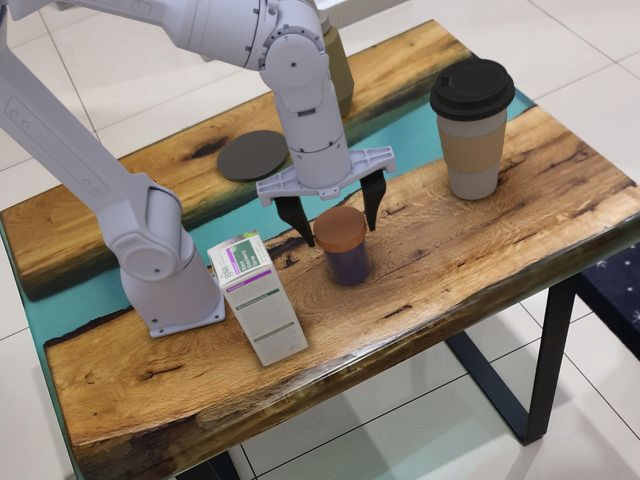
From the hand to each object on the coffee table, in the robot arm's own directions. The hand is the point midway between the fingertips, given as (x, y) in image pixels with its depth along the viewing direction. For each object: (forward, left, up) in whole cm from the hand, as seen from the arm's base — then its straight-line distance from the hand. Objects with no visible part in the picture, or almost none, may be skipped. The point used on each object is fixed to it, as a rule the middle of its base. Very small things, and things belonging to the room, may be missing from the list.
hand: (341, 233), depth 74 cm
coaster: (-10, +27, -6) cm, 29 cm away
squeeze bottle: (+3, +33, -6) cm, 34 cm away
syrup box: (-10, -8, -6) cm, 14 cm away
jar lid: (0, 0, +1) cm, 1 cm away
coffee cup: (+18, +9, -6) cm, 21 cm away
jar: (0, 0, -6) cm, 6 cm away
